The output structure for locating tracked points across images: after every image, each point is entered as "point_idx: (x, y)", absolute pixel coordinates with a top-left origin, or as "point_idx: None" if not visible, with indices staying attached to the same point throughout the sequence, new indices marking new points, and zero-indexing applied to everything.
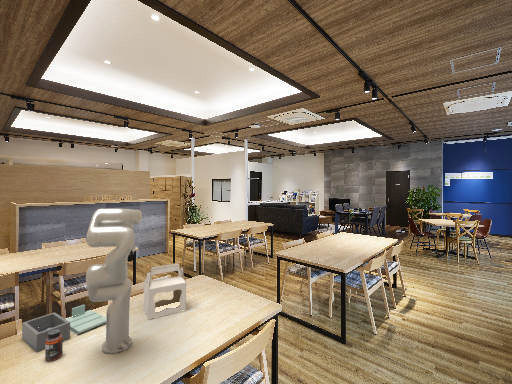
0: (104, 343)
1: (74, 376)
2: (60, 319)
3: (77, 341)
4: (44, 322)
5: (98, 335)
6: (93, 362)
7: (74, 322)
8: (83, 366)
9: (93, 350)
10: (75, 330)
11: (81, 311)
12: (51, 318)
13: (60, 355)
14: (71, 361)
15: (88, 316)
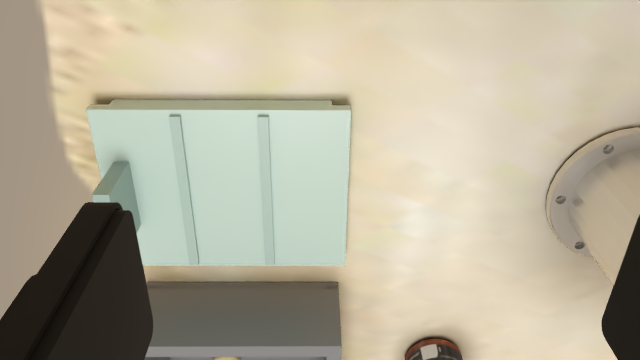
0: (563, 235)
1: None
2: (249, 354)
3: (394, 273)
4: (154, 358)
5: (434, 199)
6: None
7: (213, 240)
8: (600, 324)
9: (538, 265)
10: (307, 262)
11: (125, 193)
12: None
13: (460, 353)
14: (524, 334)
15: (192, 165)
